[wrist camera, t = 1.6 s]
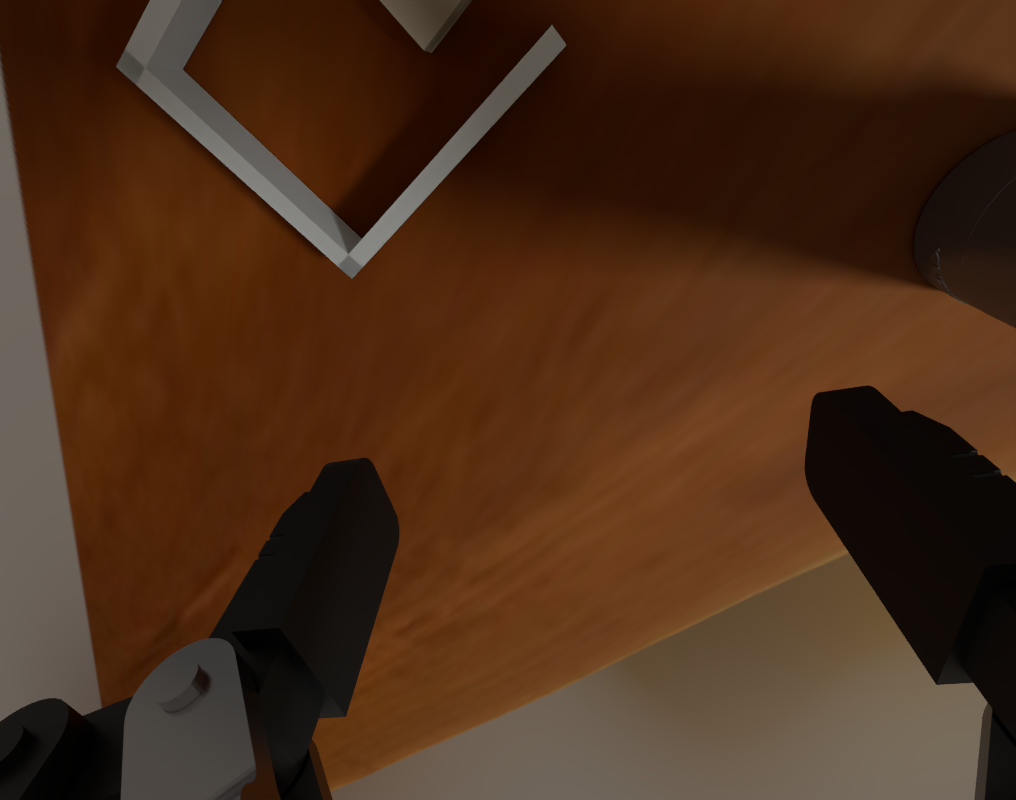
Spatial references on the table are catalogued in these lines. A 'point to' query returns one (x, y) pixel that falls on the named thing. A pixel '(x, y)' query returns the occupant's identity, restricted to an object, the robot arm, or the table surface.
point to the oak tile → (426, 18)
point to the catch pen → (159, 73)
